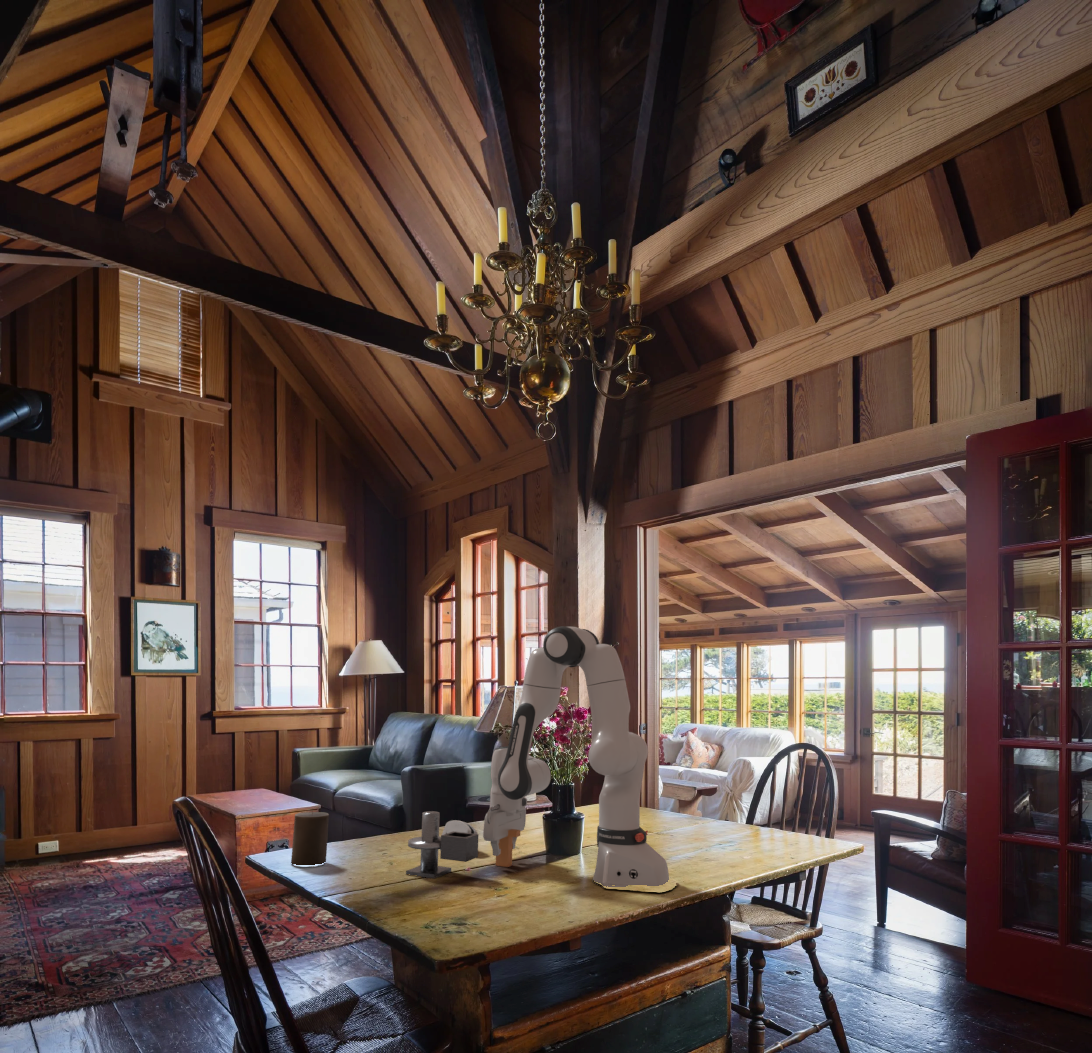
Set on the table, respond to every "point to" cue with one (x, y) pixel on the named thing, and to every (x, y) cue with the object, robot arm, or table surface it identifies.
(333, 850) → the table surface
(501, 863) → the orange t-shaped block
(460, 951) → the table surface
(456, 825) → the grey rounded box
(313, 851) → the pillar candle
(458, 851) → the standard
